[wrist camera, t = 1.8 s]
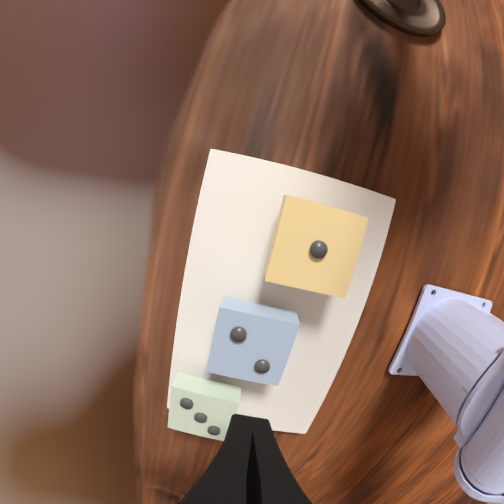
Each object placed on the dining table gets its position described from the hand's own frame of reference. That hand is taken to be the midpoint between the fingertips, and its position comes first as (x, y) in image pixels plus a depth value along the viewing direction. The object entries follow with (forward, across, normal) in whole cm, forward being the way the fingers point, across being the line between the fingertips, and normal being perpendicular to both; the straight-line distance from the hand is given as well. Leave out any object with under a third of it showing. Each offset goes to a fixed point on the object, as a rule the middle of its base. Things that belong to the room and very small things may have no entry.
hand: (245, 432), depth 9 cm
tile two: (+8, 0, 0) cm, 8 cm away
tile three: (+8, +2, +7) cm, 11 cm away
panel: (+10, -1, 0) cm, 10 cm away
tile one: (+8, -2, -7) cm, 11 cm away
